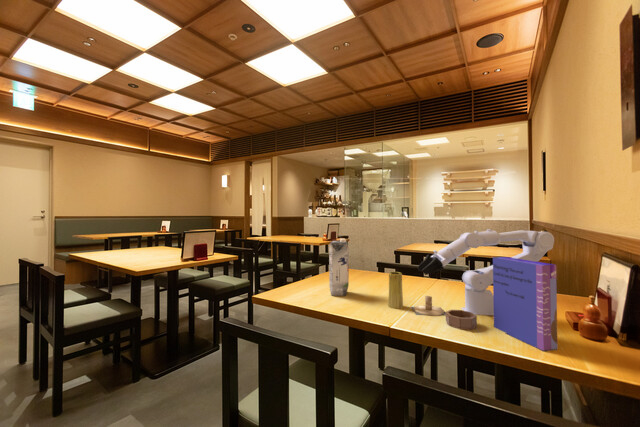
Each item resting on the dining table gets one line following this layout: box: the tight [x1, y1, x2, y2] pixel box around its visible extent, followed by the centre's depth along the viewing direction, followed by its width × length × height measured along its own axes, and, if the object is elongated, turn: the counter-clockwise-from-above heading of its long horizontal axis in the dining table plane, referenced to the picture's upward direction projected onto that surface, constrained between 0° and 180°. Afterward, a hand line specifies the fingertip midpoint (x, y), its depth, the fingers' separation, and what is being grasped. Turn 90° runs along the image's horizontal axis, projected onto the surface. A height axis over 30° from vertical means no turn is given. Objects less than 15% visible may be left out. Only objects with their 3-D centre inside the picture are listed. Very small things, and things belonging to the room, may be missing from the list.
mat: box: [410, 306, 446, 317], centre depth 115 cm, size 12×10×1 cm
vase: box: [387, 271, 404, 310], centre depth 121 cm, size 6×6×14 cm
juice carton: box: [328, 238, 350, 297], centre depth 143 cm, size 9×10×27 cm
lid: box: [413, 295, 445, 317], centre depth 115 cm, size 11×11×6 cm
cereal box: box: [492, 256, 559, 352], centre depth 90 cm, size 17×5×24 cm, turn 12°
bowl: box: [445, 309, 478, 331], centre depth 100 cm, size 9×9×4 cm
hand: (421, 271), depth 116 cm, fingers open, 7 cm apart
